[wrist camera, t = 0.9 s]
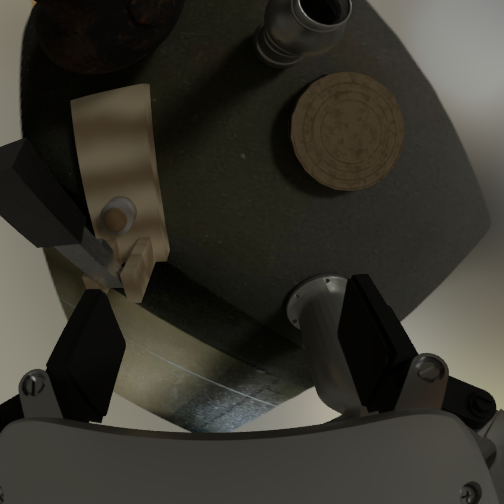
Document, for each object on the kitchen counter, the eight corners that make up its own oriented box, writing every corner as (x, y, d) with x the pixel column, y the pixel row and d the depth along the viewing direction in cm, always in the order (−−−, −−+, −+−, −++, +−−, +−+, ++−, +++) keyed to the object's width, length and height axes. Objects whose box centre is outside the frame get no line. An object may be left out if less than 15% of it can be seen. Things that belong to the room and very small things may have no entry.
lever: (135, 265, 34) (133, 292, 33) (99, 266, 34) (97, 292, 33) (32, 126, 13) (11, 167, 12) (-14, 144, 13) (-33, 182, 12)
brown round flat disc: (266, 96, 34) (269, 96, 31) (373, 59, 31) (383, 58, 28) (312, 201, 41) (317, 209, 39) (405, 161, 39) (416, 167, 36)
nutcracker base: (169, 250, 43) (153, 302, 33) (109, 253, 43) (81, 303, 33) (149, 84, 31) (114, 82, 21) (80, 99, 31) (30, 108, 20)
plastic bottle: (244, 62, 31) (259, 29, 14) (259, 16, 28) (288, -51, 10) (294, 76, 32) (358, 65, 15) (309, 31, 29) (381, -14, 12)
